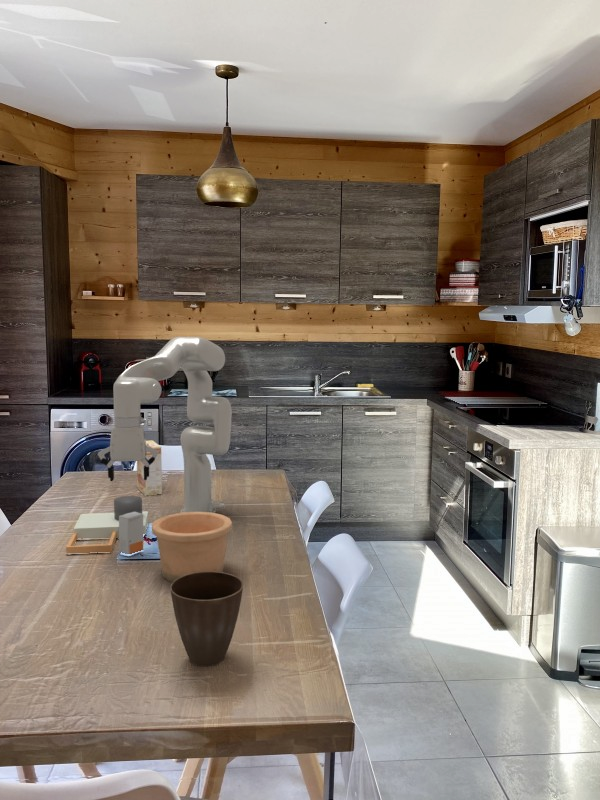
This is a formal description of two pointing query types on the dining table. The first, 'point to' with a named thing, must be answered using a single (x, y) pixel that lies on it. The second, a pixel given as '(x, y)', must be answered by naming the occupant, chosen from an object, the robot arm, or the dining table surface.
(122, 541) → the skincare box
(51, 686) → the dining table surface
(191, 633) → the plant pot
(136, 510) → the slab with grey cylinder
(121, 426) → the robot arm
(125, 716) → the dining table surface
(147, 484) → the coffeecake box
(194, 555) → the pottery
